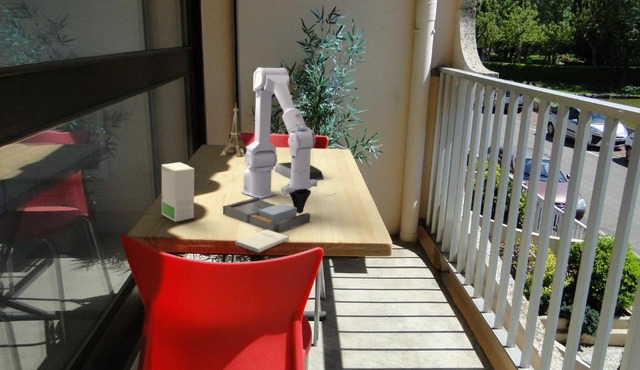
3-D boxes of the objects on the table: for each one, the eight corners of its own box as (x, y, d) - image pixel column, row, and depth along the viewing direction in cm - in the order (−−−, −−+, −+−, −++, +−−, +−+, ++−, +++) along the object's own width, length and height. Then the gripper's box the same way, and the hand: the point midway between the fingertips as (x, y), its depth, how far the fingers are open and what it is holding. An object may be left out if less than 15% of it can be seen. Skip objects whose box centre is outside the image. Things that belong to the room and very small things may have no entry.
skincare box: (161, 215, 160) (159, 164, 156) (181, 210, 165) (179, 161, 161) (176, 222, 155) (174, 170, 151) (195, 218, 159) (195, 167, 155)
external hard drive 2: (297, 183, 203) (297, 173, 202) (272, 172, 218) (272, 162, 217) (325, 180, 210) (326, 170, 209) (299, 169, 225) (300, 159, 224)
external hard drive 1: (234, 246, 141) (266, 234, 151) (258, 254, 136) (288, 241, 146) (235, 240, 141) (266, 228, 150) (258, 248, 136) (289, 235, 146)
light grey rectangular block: (258, 222, 159) (258, 209, 158) (282, 215, 166) (282, 203, 165) (272, 227, 155) (272, 214, 154) (296, 220, 162) (296, 207, 161)
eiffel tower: (240, 157, 239) (241, 101, 233) (219, 155, 242) (219, 99, 236) (251, 153, 249) (251, 99, 242) (230, 150, 252) (230, 97, 246)
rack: (223, 214, 164) (223, 205, 163) (257, 204, 175) (257, 196, 174) (276, 233, 150) (276, 223, 149) (309, 221, 161) (310, 212, 160)
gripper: (293, 176, 154) (292, 220, 158) (325, 168, 165) (323, 210, 169) (276, 171, 158) (275, 215, 162) (308, 164, 169) (306, 205, 173)
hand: (298, 212), depth 166 cm, fingers closed
